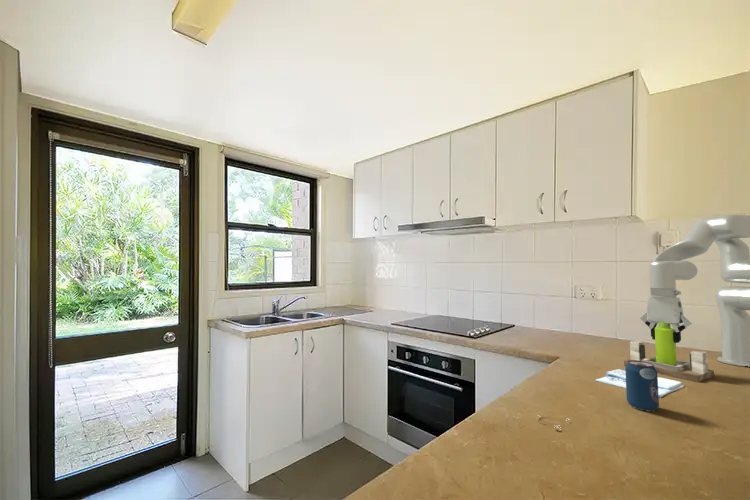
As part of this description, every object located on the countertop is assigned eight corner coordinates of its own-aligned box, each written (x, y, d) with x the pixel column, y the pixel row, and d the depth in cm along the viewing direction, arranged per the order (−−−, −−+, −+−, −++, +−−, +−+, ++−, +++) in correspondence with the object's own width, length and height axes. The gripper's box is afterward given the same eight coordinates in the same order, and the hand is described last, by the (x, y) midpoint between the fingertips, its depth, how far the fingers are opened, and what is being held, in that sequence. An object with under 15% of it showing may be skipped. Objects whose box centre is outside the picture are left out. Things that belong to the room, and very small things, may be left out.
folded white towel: (685, 388, 108) (685, 381, 108) (659, 400, 98) (659, 393, 98) (618, 372, 125) (618, 367, 125) (590, 381, 114) (590, 375, 114)
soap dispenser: (683, 366, 122) (681, 311, 123) (662, 365, 124) (660, 311, 125) (672, 361, 128) (670, 309, 129) (652, 360, 129) (650, 309, 130)
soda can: (661, 414, 86) (659, 367, 87) (628, 408, 90) (626, 363, 91) (656, 405, 92) (654, 361, 93) (625, 400, 96) (623, 358, 97)
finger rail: (642, 361, 139) (641, 339, 139) (714, 376, 119) (712, 350, 120) (624, 365, 132) (623, 342, 133) (697, 382, 113) (696, 355, 113)
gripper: (697, 294, 122) (700, 344, 121) (641, 291, 137) (643, 336, 136) (688, 295, 118) (691, 346, 117) (632, 292, 134) (634, 337, 132)
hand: (665, 340), depth 127 cm, fingers closed on soap dispenser, 5 cm apart
